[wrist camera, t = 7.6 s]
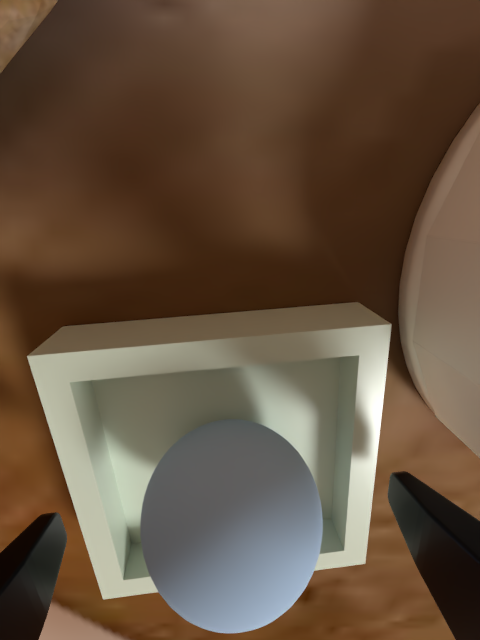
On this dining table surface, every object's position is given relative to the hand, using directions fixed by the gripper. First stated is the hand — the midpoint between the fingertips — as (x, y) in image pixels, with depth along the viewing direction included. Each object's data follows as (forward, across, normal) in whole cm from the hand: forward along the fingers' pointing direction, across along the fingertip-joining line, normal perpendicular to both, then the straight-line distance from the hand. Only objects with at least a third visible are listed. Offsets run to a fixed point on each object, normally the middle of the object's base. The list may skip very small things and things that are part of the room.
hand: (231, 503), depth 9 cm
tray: (+3, 0, 0) cm, 3 cm away
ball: (0, 0, 0) cm, 0 cm away
